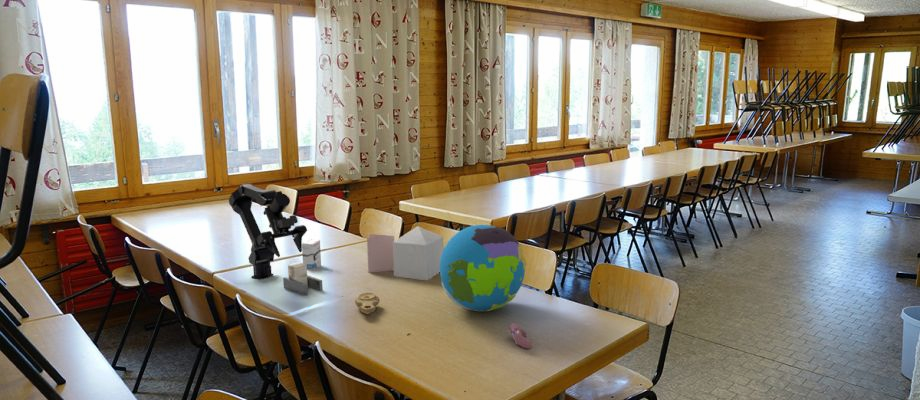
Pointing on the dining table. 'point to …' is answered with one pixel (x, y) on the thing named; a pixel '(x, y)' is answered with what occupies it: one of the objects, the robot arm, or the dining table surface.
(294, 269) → the block
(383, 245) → the greeting card
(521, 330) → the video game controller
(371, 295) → the oil lamp
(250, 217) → the robot arm
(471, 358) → the dining table surface
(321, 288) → the chute
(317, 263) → the ink box
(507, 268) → the globe
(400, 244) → the decorative block
